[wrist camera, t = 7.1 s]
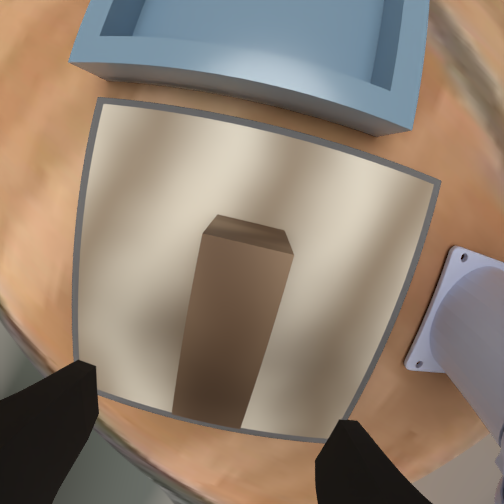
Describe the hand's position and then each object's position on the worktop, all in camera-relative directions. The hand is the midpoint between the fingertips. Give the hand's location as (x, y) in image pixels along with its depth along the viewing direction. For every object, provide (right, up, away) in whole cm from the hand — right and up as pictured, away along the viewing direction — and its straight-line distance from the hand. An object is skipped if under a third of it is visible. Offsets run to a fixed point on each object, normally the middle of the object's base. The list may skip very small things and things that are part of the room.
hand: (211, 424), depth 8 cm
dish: (+2, +19, +4) cm, 19 cm away
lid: (0, +3, +8) cm, 8 cm away
